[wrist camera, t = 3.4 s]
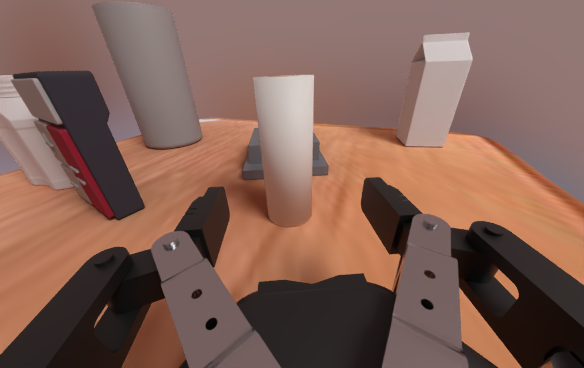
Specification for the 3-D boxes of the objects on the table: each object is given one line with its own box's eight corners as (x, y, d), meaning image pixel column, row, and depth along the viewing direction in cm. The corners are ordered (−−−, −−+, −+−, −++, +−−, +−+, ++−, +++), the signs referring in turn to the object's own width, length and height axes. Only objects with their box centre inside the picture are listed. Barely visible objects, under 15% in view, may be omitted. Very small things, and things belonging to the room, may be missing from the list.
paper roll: (267, 228, 21) (249, 77, 15) (268, 202, 26) (255, 75, 19) (315, 225, 22) (319, 74, 15) (308, 199, 26) (309, 73, 19)
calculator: (78, 198, 28) (-1, 74, 21) (114, 185, 31) (57, 73, 24) (111, 225, 23) (20, 71, 16) (151, 206, 26) (91, 70, 19)
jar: (131, 166, 37) (90, 73, 30) (67, 193, 30) (-10, 75, 22) (90, 160, 41) (43, 75, 34) (22, 183, 33) (-57, 78, 26)
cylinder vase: (163, 135, 56) (123, 19, 44) (209, 133, 56) (183, 17, 44) (134, 151, 45) (71, 2, 33) (192, 148, 45) (151, 0, 33)
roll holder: (243, 179, 31) (238, 151, 29) (253, 146, 45) (250, 125, 43) (327, 174, 32) (329, 146, 30) (311, 143, 46) (312, 122, 44)
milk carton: (443, 147, 41) (483, 29, 32) (405, 147, 42) (433, 32, 33) (428, 137, 47) (458, 35, 38) (395, 137, 48) (416, 37, 39)
